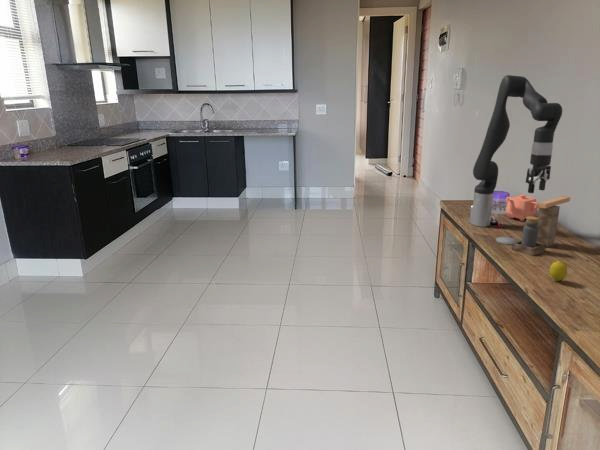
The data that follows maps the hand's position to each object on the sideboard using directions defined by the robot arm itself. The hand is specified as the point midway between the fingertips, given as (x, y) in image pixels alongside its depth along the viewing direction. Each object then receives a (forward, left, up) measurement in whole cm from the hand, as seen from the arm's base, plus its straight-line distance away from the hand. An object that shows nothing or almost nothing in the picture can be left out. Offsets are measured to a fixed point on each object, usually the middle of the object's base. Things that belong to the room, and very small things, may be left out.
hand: (536, 191), depth 187 cm
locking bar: (0, +17, -8) cm, 19 cm away
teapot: (-30, +44, -27) cm, 60 cm away
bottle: (0, 0, -27) cm, 27 cm away
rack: (0, +6, -26) cm, 27 cm away
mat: (-12, +4, -26) cm, 29 cm away
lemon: (+24, -23, -27) cm, 43 cm away
